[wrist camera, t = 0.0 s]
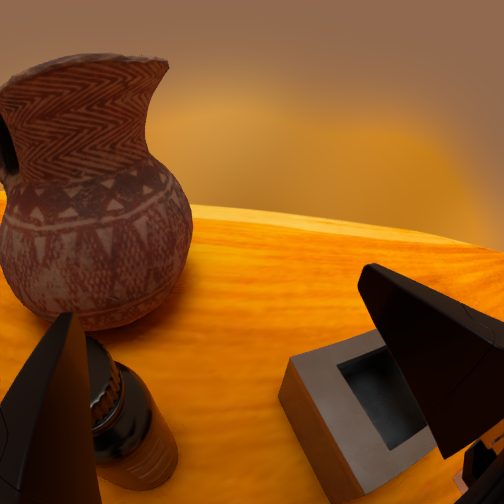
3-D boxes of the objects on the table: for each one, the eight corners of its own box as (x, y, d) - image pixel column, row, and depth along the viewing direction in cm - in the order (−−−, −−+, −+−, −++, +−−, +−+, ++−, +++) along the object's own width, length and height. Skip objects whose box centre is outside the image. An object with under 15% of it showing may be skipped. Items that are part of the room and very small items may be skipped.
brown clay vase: (170, 230, 43) (167, 63, 30) (227, 326, 28) (240, 43, 15) (37, 261, 34) (4, 93, 20) (25, 378, 19) (-82, 110, 5)
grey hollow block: (434, 442, 17) (474, 410, 14) (332, 506, 13) (365, 494, 10) (377, 359, 25) (401, 318, 22) (277, 396, 22) (289, 357, 19)
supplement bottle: (160, 406, 20) (122, 303, 14) (193, 478, 15) (159, 422, 9) (86, 424, 17) (11, 330, 11) (109, 498, 12) (10, 448, 6)
